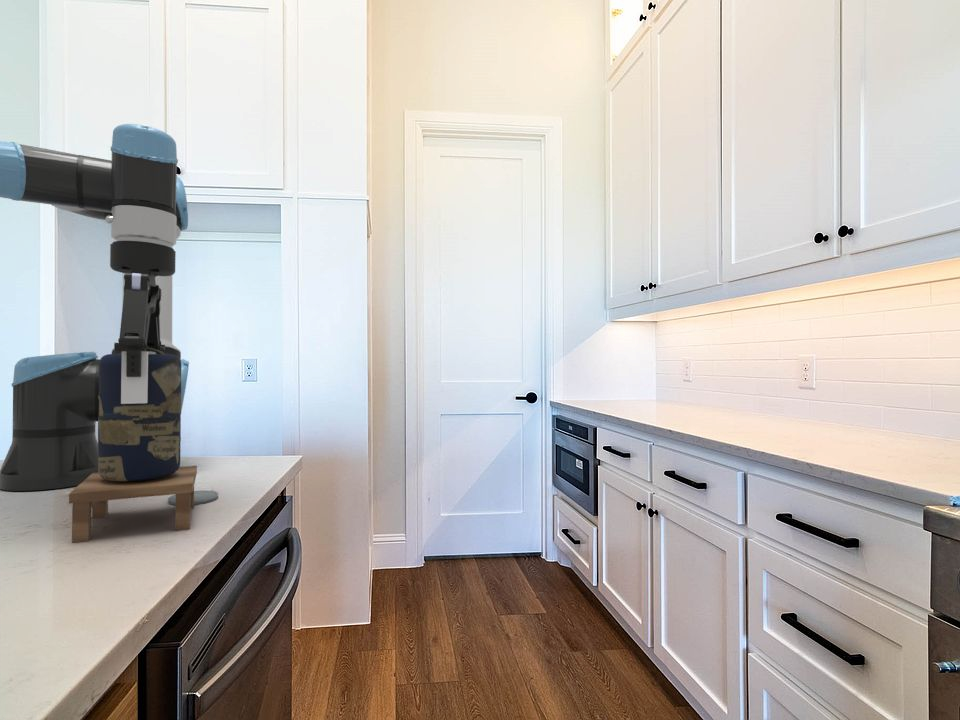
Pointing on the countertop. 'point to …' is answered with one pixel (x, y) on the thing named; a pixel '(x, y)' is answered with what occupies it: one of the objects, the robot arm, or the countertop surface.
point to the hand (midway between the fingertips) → (141, 399)
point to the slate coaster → (198, 497)
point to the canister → (140, 421)
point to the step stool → (99, 490)
